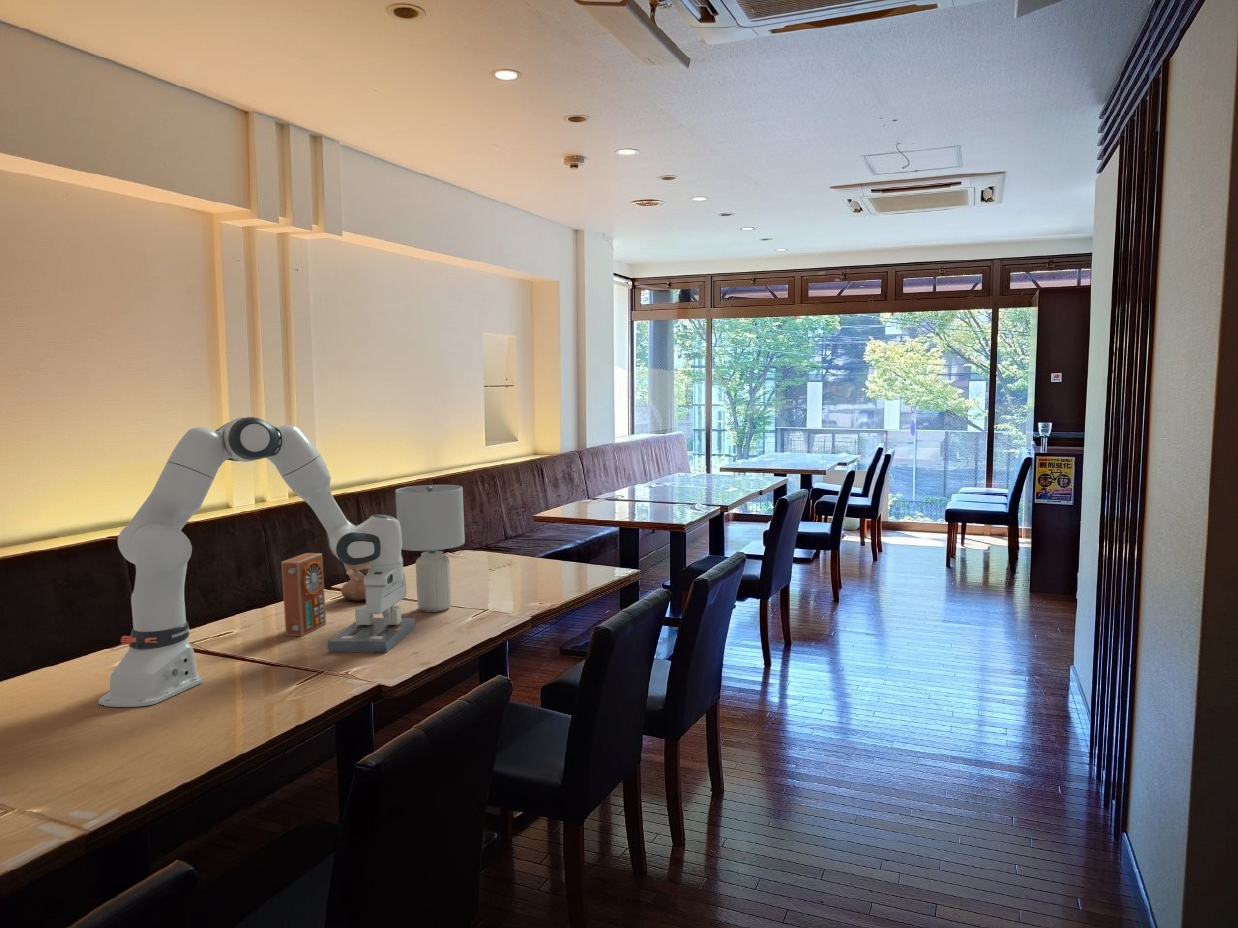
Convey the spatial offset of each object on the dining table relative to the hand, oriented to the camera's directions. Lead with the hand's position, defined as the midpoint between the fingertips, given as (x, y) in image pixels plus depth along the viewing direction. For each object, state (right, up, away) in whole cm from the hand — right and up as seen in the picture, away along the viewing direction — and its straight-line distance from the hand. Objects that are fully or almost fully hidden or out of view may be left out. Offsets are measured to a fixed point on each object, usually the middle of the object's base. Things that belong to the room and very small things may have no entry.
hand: (388, 621), depth 231 cm
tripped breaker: (0, -1, +3) cm, 4 cm away
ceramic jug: (-21, -1, +47) cm, 51 cm away
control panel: (-27, -5, +11) cm, 30 cm away
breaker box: (-4, -5, 0) cm, 6 cm away
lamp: (+6, -2, +31) cm, 32 cm away
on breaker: (-8, -1, +4) cm, 9 cm away
